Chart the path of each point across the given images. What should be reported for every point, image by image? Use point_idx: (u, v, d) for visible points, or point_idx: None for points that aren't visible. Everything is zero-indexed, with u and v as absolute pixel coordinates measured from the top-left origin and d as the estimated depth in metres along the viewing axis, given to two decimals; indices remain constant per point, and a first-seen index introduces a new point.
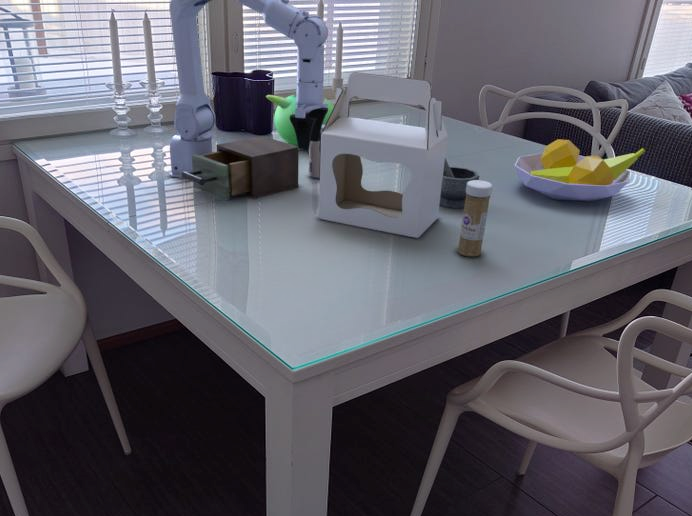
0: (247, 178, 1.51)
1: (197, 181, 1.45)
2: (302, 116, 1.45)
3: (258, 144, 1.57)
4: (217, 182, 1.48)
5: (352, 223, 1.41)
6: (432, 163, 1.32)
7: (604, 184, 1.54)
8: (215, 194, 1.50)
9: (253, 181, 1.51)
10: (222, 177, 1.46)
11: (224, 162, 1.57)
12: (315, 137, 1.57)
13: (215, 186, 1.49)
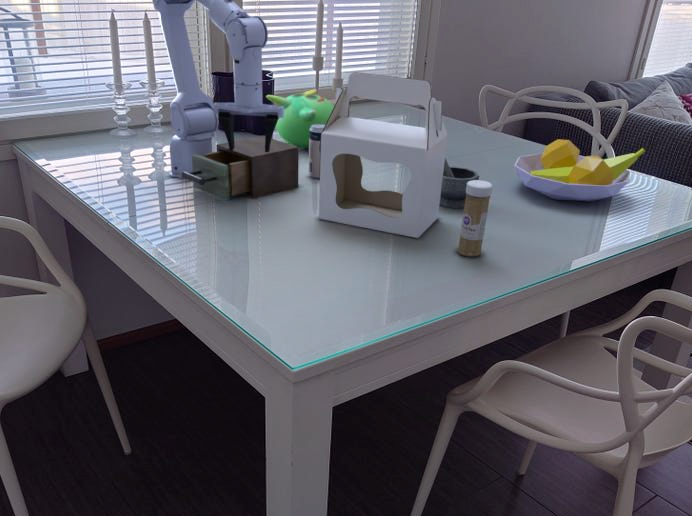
0: (247, 178, 1.51)
1: (197, 181, 1.45)
2: None
3: (258, 144, 1.57)
4: (217, 182, 1.48)
5: (352, 223, 1.41)
6: (432, 163, 1.32)
7: (604, 184, 1.54)
8: (215, 194, 1.50)
9: (253, 181, 1.51)
10: (222, 177, 1.46)
11: (224, 162, 1.57)
12: None
13: (215, 186, 1.49)
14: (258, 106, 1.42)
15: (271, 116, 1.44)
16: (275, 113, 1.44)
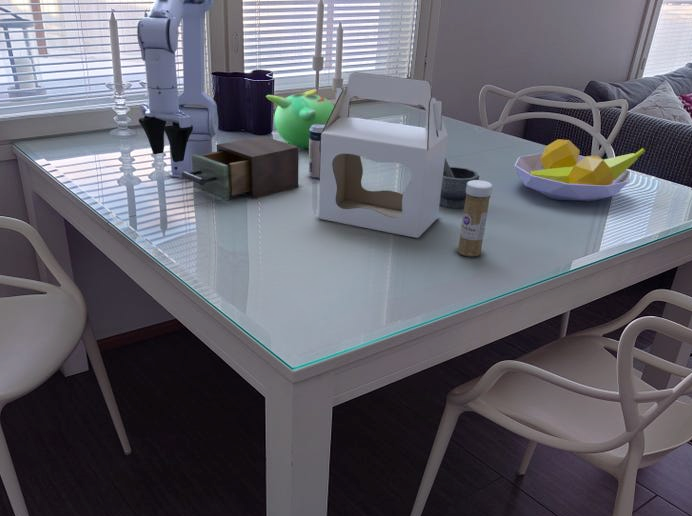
0: (247, 178, 1.51)
1: (197, 181, 1.45)
2: None
3: (258, 144, 1.57)
4: (217, 182, 1.48)
5: (352, 223, 1.41)
6: (432, 163, 1.32)
7: (604, 184, 1.54)
8: (215, 194, 1.50)
9: (253, 181, 1.51)
10: (222, 177, 1.46)
11: (224, 162, 1.57)
12: None
13: (215, 186, 1.49)
14: (163, 112, 1.34)
15: (175, 124, 1.34)
16: None
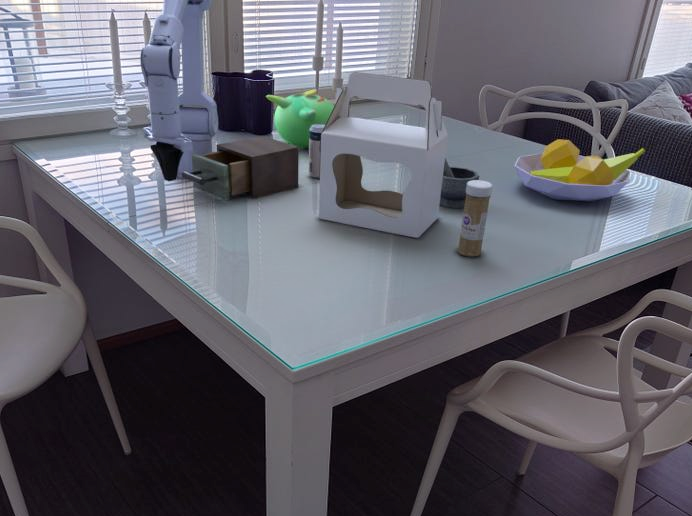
0: (247, 178, 1.51)
1: (197, 181, 1.45)
2: None
3: (258, 144, 1.57)
4: (217, 182, 1.48)
5: (352, 223, 1.41)
6: (432, 163, 1.32)
7: (604, 184, 1.54)
8: (215, 194, 1.50)
9: (253, 181, 1.51)
10: (222, 177, 1.46)
11: (224, 162, 1.57)
12: None
13: (215, 186, 1.49)
14: (166, 136, 1.36)
15: (167, 145, 1.38)
16: None
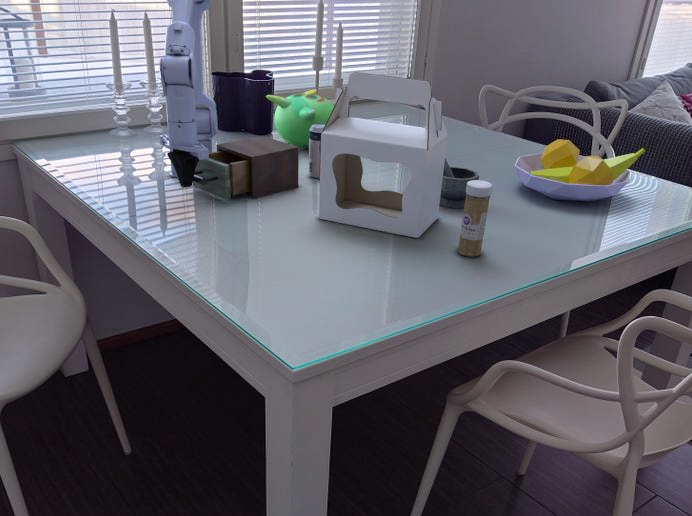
0: (248, 178, 1.52)
1: (198, 181, 1.46)
2: None
3: (258, 144, 1.57)
4: (218, 182, 1.48)
5: (352, 223, 1.41)
6: (432, 163, 1.32)
7: (604, 184, 1.54)
8: (216, 194, 1.50)
9: (253, 181, 1.51)
10: (223, 177, 1.47)
11: (225, 162, 1.57)
12: None
13: (216, 186, 1.49)
14: (183, 144, 1.40)
15: (184, 152, 1.42)
16: None
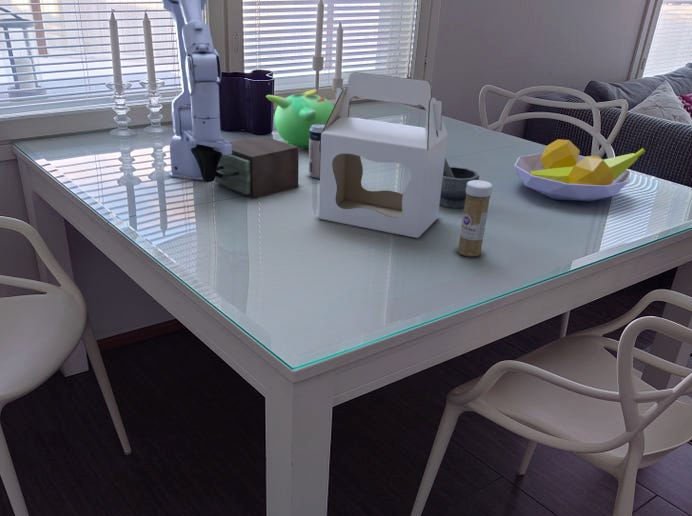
0: None
1: (220, 176, 1.49)
2: None
3: (258, 144, 1.57)
4: (239, 177, 1.52)
5: (352, 223, 1.41)
6: (432, 163, 1.32)
7: (604, 184, 1.54)
8: (237, 189, 1.54)
9: (253, 181, 1.51)
10: (244, 172, 1.50)
11: (245, 158, 1.60)
12: None
13: (237, 181, 1.53)
14: (207, 140, 1.43)
15: (207, 148, 1.45)
16: None
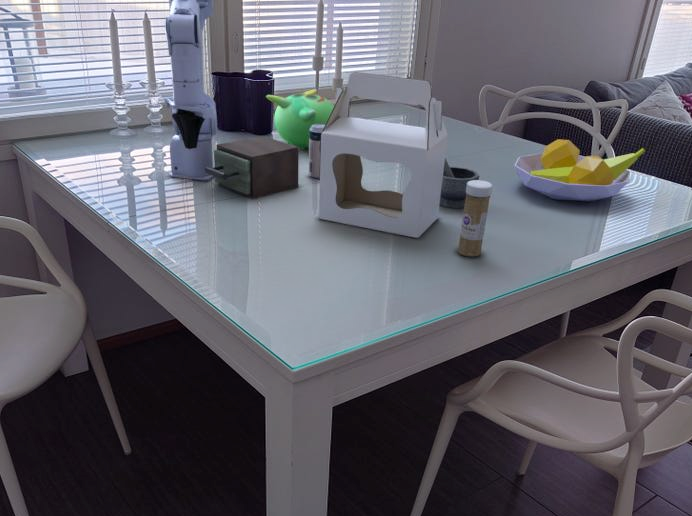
0: None
1: (220, 176, 1.49)
2: None
3: (258, 144, 1.57)
4: (239, 177, 1.52)
5: (352, 223, 1.41)
6: (432, 163, 1.32)
7: (604, 184, 1.54)
8: (237, 189, 1.54)
9: (253, 181, 1.51)
10: (244, 172, 1.50)
11: (245, 158, 1.60)
12: None
13: (237, 181, 1.53)
14: (187, 104, 1.41)
15: (189, 113, 1.43)
16: None
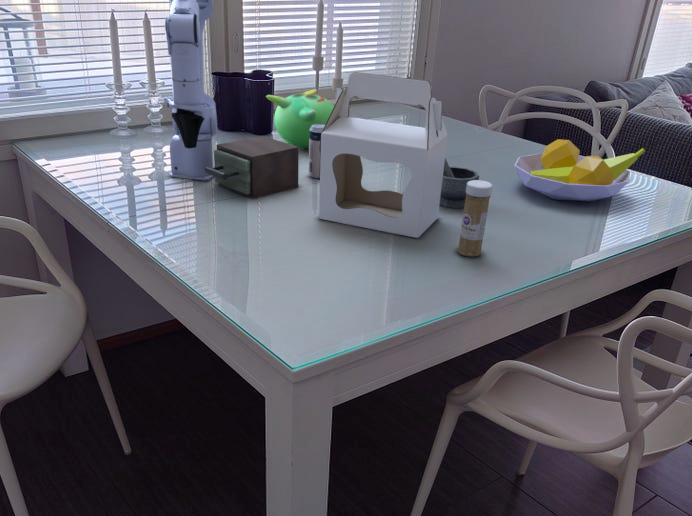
0: None
1: (220, 176, 1.49)
2: None
3: (258, 144, 1.57)
4: (239, 177, 1.52)
5: (352, 223, 1.41)
6: (432, 163, 1.32)
7: (604, 184, 1.54)
8: (237, 189, 1.54)
9: (253, 181, 1.51)
10: (244, 172, 1.50)
11: (245, 158, 1.60)
12: None
13: (237, 181, 1.53)
14: (187, 103, 1.41)
15: (188, 112, 1.43)
16: None
